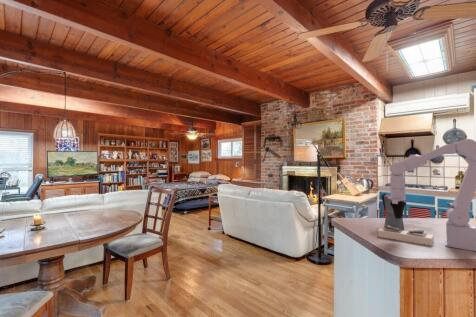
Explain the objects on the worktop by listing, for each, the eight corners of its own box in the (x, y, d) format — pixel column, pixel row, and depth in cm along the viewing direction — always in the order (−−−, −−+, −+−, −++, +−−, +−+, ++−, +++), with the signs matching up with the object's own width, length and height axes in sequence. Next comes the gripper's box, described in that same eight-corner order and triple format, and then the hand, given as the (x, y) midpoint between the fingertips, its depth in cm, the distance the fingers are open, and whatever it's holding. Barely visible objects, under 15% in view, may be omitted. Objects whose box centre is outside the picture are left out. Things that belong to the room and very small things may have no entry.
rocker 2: (423, 231, 105) (423, 229, 105) (423, 233, 103) (422, 231, 103) (410, 231, 108) (410, 229, 108) (409, 233, 106) (409, 231, 106)
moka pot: (398, 232, 119) (396, 192, 120) (374, 225, 134) (373, 189, 135) (413, 231, 121) (412, 192, 122) (388, 224, 136) (387, 189, 137)
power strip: (433, 241, 104) (433, 234, 104) (432, 245, 99) (431, 237, 99) (381, 233, 118) (381, 226, 118) (377, 236, 113) (377, 229, 113)
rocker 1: (399, 230, 111) (399, 228, 111) (398, 231, 109) (398, 229, 109) (387, 226, 115) (387, 225, 114) (386, 227, 112) (386, 226, 112)
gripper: (391, 187, 119) (392, 214, 118) (384, 189, 108) (385, 219, 108) (408, 187, 114) (409, 216, 113) (402, 189, 103) (403, 221, 103)
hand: (398, 217), depth 110 cm, fingers closed
